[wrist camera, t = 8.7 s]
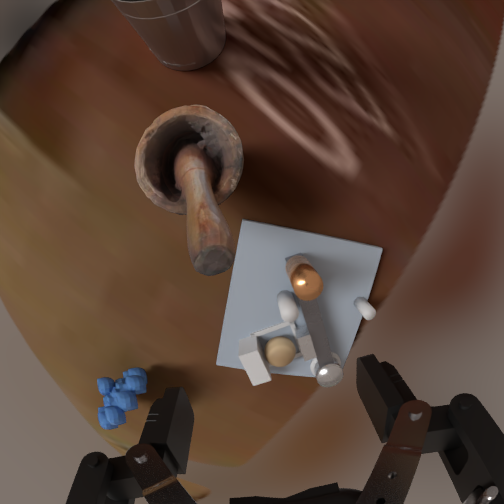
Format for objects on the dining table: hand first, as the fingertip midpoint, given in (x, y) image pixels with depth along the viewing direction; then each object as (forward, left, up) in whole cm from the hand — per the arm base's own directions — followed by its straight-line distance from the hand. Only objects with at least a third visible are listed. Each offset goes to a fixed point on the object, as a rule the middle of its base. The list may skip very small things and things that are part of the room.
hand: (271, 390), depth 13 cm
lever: (+7, +9, -23) cm, 26 cm away
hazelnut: (+11, +5, -24) cm, 27 cm away
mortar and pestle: (-8, -6, -25) cm, 27 cm away
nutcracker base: (+6, +7, -25) cm, 27 cm away
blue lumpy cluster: (+22, -15, -25) cm, 37 cm away
